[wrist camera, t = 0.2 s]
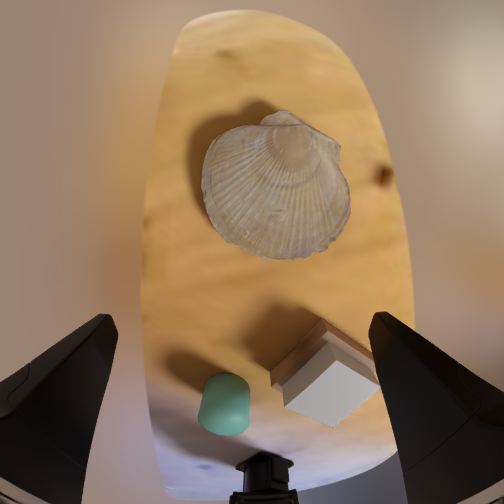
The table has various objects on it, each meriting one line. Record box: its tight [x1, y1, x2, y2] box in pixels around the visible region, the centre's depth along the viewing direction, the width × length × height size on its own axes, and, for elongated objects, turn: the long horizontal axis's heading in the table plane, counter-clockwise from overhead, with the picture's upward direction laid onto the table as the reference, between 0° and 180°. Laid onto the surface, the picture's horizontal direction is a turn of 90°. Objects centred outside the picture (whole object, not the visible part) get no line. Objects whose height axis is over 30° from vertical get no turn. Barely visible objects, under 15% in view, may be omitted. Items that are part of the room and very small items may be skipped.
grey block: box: [282, 342, 381, 428], centre depth 22 cm, size 6×6×3 cm
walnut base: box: [270, 318, 376, 393], centre depth 25 cm, size 8×8×3 cm
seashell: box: [201, 110, 351, 260], centre depth 21 cm, size 12×12×3 cm
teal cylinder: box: [198, 373, 250, 436], centre depth 25 cm, size 5×5×5 cm
